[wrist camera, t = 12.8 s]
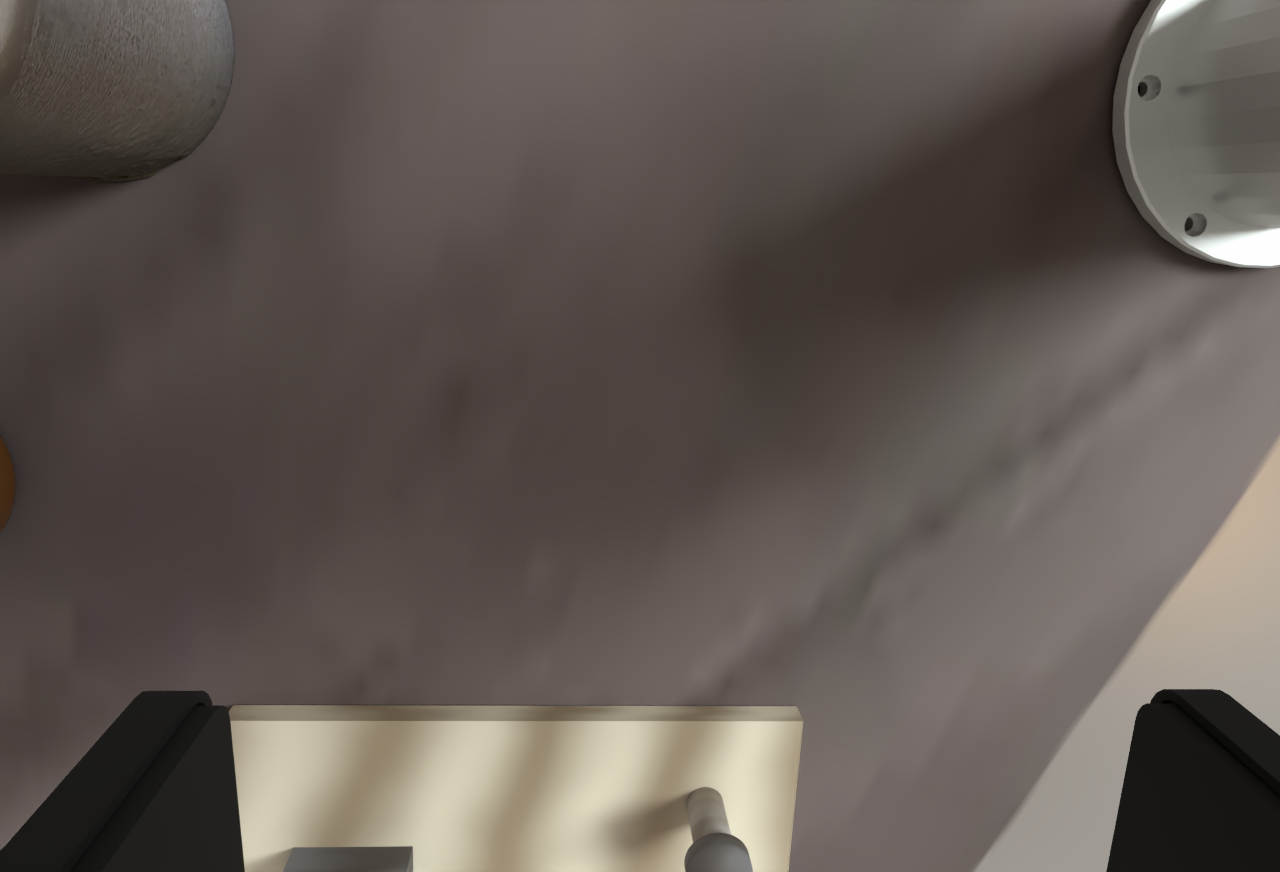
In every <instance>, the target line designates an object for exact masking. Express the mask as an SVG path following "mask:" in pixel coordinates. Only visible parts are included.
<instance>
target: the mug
mask: <svg viewBox="0 0 1280 872" xmlns="http://www.w3.org/2000/svg"><path fill="white" fill-rule="evenodd" d="M14 497H15V474H14V467H13V464H12V460H11V457H10V454H9V452H8V450H7V447H6V445H5V443H4V441H3V440H2V438H1V436H0V531H1V530H2V529H3V527H4V526H5V524H6V522H7V520H8V518H9V516H10V513H11V510H12V507H13V504H14Z"/></svg>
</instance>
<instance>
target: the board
mask: <svg viewBox="0 0 1280 872" xmlns="http://www.w3.org/2000/svg"><path fill="white" fill-rule="evenodd" d="M229 716H230V722H231V733H232V743H233V753H234V764H235V774H236V785H237V795H238V805H239V816H240V826H241V837H242V847H243V857H244V868H245V872H788V868H789V858H790V848H791V838H792V828H793V818H794V808H795V798H796V788H797V778H798V768H799V758H800V748H801V738H802V728H803V720H802V718H801V715H800V713H799V711H798V708H797V706H427V705H233V706H232V707H231V709H230V710H229Z"/></svg>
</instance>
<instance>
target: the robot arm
mask: <svg viewBox="0 0 1280 872" xmlns="http://www.w3.org/2000/svg"><path fill="white" fill-rule="evenodd" d="M1138 85H1139V86H1140V90H1141V91H1140V94H1138ZM1112 132H1113V139H1114V146H1115V153H1116V159H1117V164H1118V167H1119V170H1120V173H1121V176H1122V178H1123V181H1124V184H1125V187H1126V190H1127V192H1128V194H1129V195H1130V197H1131V199H1132V200H1133V202H1134V204H1135V205H1136V207H1137V209H1138V210H1139V212H1140V214H1141V215H1142V217H1143V218H1144V219H1145V220H1146V221H1147V222H1148V223H1149V224H1150V225H1151V226H1152V227H1153V228H1154V229H1155V230H1156V232H1157V233H1158V234H1159V235H1160V236H1161V237H1162V238H1164V239H1165V240H1167V241H1168V242H1170V243H1171V244H1173V245H1174V246H1176V247H1177V248H1179V249H1180V250H1182V251H1183V252H1185V253H1187V254H1190V255H1193V256H1195V257H1198V258H1200V259H1203V260H1206V261H1208V262H1211V263H1217V264H1224V265H1230V266H1236V267H1250V268H1273V267H1280V0H1151V1H1150V3H1149V4H1148V6H1147V8H1146V10H1145V11H1144V13H1143V15H1142V16H1141V18H1140V20H1139V22H1138V23H1137V25H1136V27H1135V28H1134V30H1133V33H1132V35H1131V38H1130V40H1129V43H1128V46H1127V48H1126V51H1125V53H1124V56H1123V58H1122V61H1121V64H1120V69H1119V73H1118V78H1117V83H1116V88H1115V93H1114V98H1113V126H1112ZM1185 222H1186V225H1185V227H1184V224H1185ZM0 872H245V868H244V857H243V847H242V837H241V826H240V816H239V805H238V795H237V785H236V774H235V764H234V753H233V743H232V733H231V722H230V716H229V712H228V710H227V708H226V707H224V706H212V701H211V699H210V697H209V695H208V694H207V693H206V692H205V691H145V692H142V693H140V694H139V695H138V696H137V697H136V698H135V699H134V700H133V701H132V702H131V703H130V704H129V706H128V707H127V708H126V709H125V710H124V711H123V712H122V713H121V715H120V716H119V717H118V718H117V719H116V720H115V721H114V723H113V724H112V725H111V726H110V727H109V728H108V729H107V731H106V732H105V733H104V734H103V735H102V736H101V737H100V739H99V740H98V741H97V742H96V743H95V744H94V745H93V747H92V748H91V749H90V750H89V751H88V752H87V753H86V754H85V756H84V757H83V758H82V759H81V760H80V761H79V762H78V764H77V765H76V766H75V767H74V768H73V769H72V770H71V772H70V773H69V774H68V775H67V776H66V777H65V778H64V780H63V781H62V782H61V783H60V784H59V785H58V786H57V788H56V789H55V790H54V791H53V792H52V793H51V794H50V796H49V797H48V798H47V799H46V800H45V801H44V802H43V803H42V805H41V806H40V807H39V808H38V809H37V810H36V811H35V813H34V814H33V815H32V816H31V817H30V818H29V819H28V821H27V822H26V823H25V824H24V825H23V826H22V827H21V829H20V830H19V831H18V832H17V833H16V834H15V835H14V837H13V838H12V839H11V840H10V841H9V842H8V843H7V844H6V846H5V847H4V848H3V849H2V850H1V851H0ZM1107 872H1280V736H1279V735H1278V734H1277V733H1276V732H1274V731H1273V730H1272V729H1271V728H1269V727H1268V726H1267V725H1266V724H1264V723H1263V722H1262V721H1261V720H1259V719H1258V718H1257V717H1256V716H1254V715H1253V714H1252V713H1251V712H1249V711H1248V710H1247V709H1246V708H1244V707H1243V706H1242V705H1241V704H1239V703H1238V702H1237V701H1236V700H1234V699H1233V698H1232V697H1231V696H1230V695H1228V694H1226V693H1224V692H1223V691H1221V690H1212V689H1209V690H1208V689H1205V690H1204V689H1202V690H1201V689H1196V690H1195V689H1193V690H1192V689H1187V690H1185V689H1181V690H1180V689H1174V690H1173V689H1168V690H1167V689H1164V690H1161V691H1159V692H1157V693H1156V694H1155V696H1154V697H1153V698H1152V700H1151V703H1150V704H1145V705H1143V706H1142V707H1141V708H1140V709H1139V711H1138V713H1137V716H1136V720H1135V725H1134V731H1133V736H1132V741H1131V746H1130V752H1129V757H1128V762H1127V767H1126V773H1125V778H1124V783H1123V788H1122V793H1121V799H1120V804H1119V809H1118V815H1117V820H1116V825H1115V830H1114V835H1113V841H1112V846H1111V851H1110V856H1109V862H1108V867H1107Z"/></svg>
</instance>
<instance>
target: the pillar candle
mask: <svg viewBox="0 0 1280 872" xmlns="http://www.w3.org/2000/svg"><path fill="white" fill-rule="evenodd" d="M233 41H234V36H233V31H232V26H231V22H230V19H229V14H228V10H227V6H226V3H225V1H224V0H0V175H22V176H23V175H30V176H34V175H35V176H44V177H46V176H68V177H70V176H71V177H79V178H84V179H88V180H93V181H105V182H107V181H111V182H119V181H130V180H136V179H141V178H147V177H151V176H152V175H154V174H155V173H156V172H157V171H158V170H159V169H161V168H163V167H165V166H167V165H170V164H171V163H172V162H173V161H175V160H177V159H179V158H180V159H183V158H185V157H186V156H188V155H190V154H191V153H192V152H193V151H194V150H195V149H196V147H197V146H198V145H199V144H200V143H201V142H202V141H203V140H204V139H205V138H206V136H207V135H208V134H209V133H210V131H211V130H212V128H213V127H214V125H215V124H216V122H217V120H218V118H219V116H220V114H221V112H222V110H223V108H224V105H225V103H226V99H227V96H228V94H229V89H230V86H231V83H232V76H233V68H234V56H235V51H234V43H233Z"/></svg>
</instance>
